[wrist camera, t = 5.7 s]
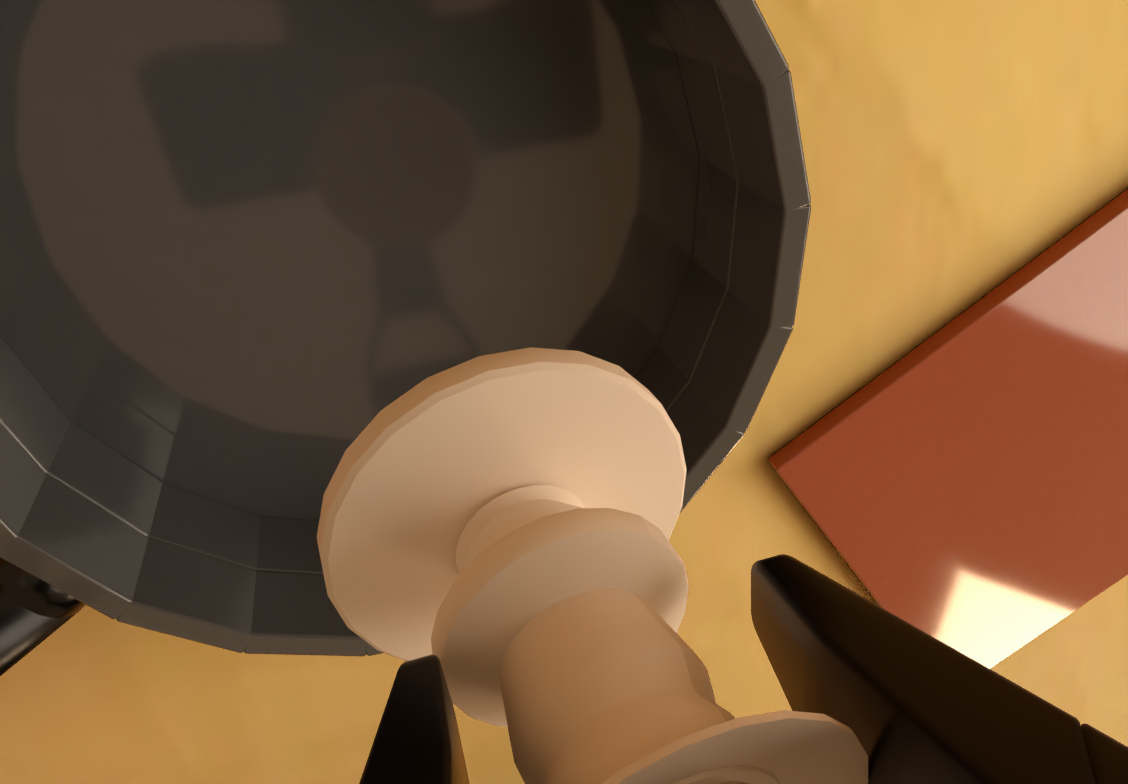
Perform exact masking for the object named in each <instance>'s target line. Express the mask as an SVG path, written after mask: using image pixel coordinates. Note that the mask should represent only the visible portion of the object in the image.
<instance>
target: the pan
mask: <svg viewBox="0 0 1128 784" xmlns="http://www.w3.org/2000/svg"><path fill="white" fill-rule="evenodd" d="M788 68H789V66H788V63H787V62H786V60H785V58H784V56H783V54H782V52H781V50H780V48H779V46H778V44H777V42H776V40H775V38H774V36H773V34H772V32H771V31H770V29H769V27H768V25H767V23H766V21H765V19H764V17H763V15H762V13H761V11H760V9H759V7H758V5H757V3H756V2H755V0H0V558H2V559H4V560H6V561H7V562H9V563H11V564H13V565H15V566H17V567H18V568H20V569H22V570H24V571H26V572H28V573H29V574H31V575H33V576H35V577H37V578H39V579H40V580H42V581H44V582H46V583H48V584H50V585H51V586H53V587H55V588H57V589H59V590H60V591H62V592H64V593H66V594H68V595H70V596H71V597H73V598H75V599H77V600H79V601H81V602H82V603H84V604H86V605H88V606H90V607H92V608H93V609H95V610H97V611H99V612H101V613H103V614H104V615H106V616H108V617H110V618H112V619H117V621H119V622H122V623H126V624H130V625H134V626H138V627H142V628H145V629H149V630H153V631H157V632H161V633H165V634H169V635H173V636H176V637H180V638H184V639H188V640H192V641H196V642H200V643H204V644H207V645H211V646H215V647H219V648H223V649H227V650H231V651H235V652H238V653H242V652H243V651H244V653H246V654H286V655H328V656H365V655H366V654H367V655H368V656H371V655H376V654H381V653H383V652H381V651H378V650H377V649H375V648H374V647H373V646H371V645H370V644H369V643H367V642H366V641H365V640H363V639H362V638H361V637H360V636H358V635H357V634H356V633H354V632H353V631H352V630H350V629H349V628H348V627H347V625H346V624H345V622H344V621H343V619H342V618H341V616H340V614H339V613H338V611H337V610H336V608H335V606H334V605H333V603H332V602H331V600H330V598H329V597H328V594H327V589H326V584H325V580H324V574H323V569H322V564H321V558H320V553H319V548H318V542H317V532H318V526H319V519H320V513H321V507H322V501H323V495H324V493H325V491H326V489H327V487H328V485H329V483H330V481H331V479H332V477H333V475H334V473H335V471H336V469H337V467H338V465H339V463H340V461H341V459H342V457H343V455H344V453H345V451H346V449H347V448H348V447H349V446H350V445H351V444H352V443H353V442H354V440H355V439H356V438H357V437H358V436H359V435H360V434H361V432H362V431H363V430H364V429H365V428H366V427H367V426H368V425H369V423H370V422H371V421H372V420H373V419H374V418H375V417H376V415H377V414H378V413H379V412H380V411H381V410H382V409H384V408H385V407H386V406H388V405H389V404H391V403H392V402H394V401H395V400H396V399H398V398H399V397H401V396H402V395H403V394H405V393H406V392H408V391H409V390H410V389H412V388H413V387H415V386H416V385H417V384H419V383H420V382H422V381H423V380H425V379H426V378H428V377H430V376H433V375H435V374H437V373H440V372H442V371H445V370H447V369H449V368H452V367H454V366H456V365H459V364H461V363H464V362H466V361H468V360H471V359H473V358H476V357H478V356H483V355H489V354H495V353H501V352H506V351H512V350H518V349H524V348H530V347H533V348H546V349H560V350H573V351H580V352H583V353H586V354H588V355H591V356H594V357H596V358H599V359H602V360H604V361H607V362H610V363H612V364H615V365H618V366H620V367H621V368H622V369H623V370H625V371H626V372H627V373H628V374H630V375H631V376H632V377H633V378H635V379H636V380H637V381H638V382H640V383H641V384H642V385H643V386H644V387H646V388H647V389H648V390H649V391H650V392H651V393H652V394H653V395H654V396H655V397H656V399H657V400H658V401H659V402H660V403H661V404H662V406H663V408H664V409H665V411H666V413H667V414H668V416H669V418H670V419H671V421H672V423H673V424H674V426H675V428H676V429H677V431H678V433H679V434H680V438H681V443H682V449H683V454H684V459H685V464H686V470H687V471H686V479H685V487H684V496H683V504H682V508H681V511H680V513H681V512H682V510H683V509H684V508H685V507H686V505H687V504H688V503H689V502H690V501H691V499H692V498H693V497H694V496H695V494H696V493H697V492H698V491H699V490H700V488H701V487H702V486H703V485H704V483H705V482H706V481H707V480H708V479H709V477H710V476H711V475H712V474H713V472H714V471H715V470H716V469H717V468H718V466H719V465H720V464H721V463H722V461H723V460H724V459H725V458H726V457H727V455H728V454H729V453H730V452H731V450H732V449H733V448H734V447H735V446H736V444H737V443H738V442H739V441H740V439H741V438H742V437H743V436H744V433H745V432H746V431H747V429H748V427H749V425H750V422H751V420H752V418H753V416H754V414H755V411H756V409H757V407H758V405H759V403H760V400H761V398H762V396H763V394H764V392H765V389H766V387H767V385H768V383H769V381H770V378H771V376H772V374H773V372H774V370H775V367H776V365H777V363H778V361H779V359H780V356H781V354H782V352H783V350H784V347H785V345H786V343H787V341H788V339H789V336H790V334H791V332H792V330H793V328H792V326H793V325H794V320H795V313H796V306H797V300H798V293H799V286H800V279H801V272H802V265H803V259H804V252H805V245H806V238H807V231H808V225H809V218H810V211H811V205H810V203H811V199H810V192H809V186H808V179H807V173H806V167H805V160H804V154H803V148H802V141H801V135H800V129H799V122H798V116H797V110H796V103H795V97H794V91H793V84H792V78H791V72H790V71H789V69H788ZM680 513H679V514H680Z"/></svg>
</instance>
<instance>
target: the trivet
mask: <svg viewBox="0 0 1128 784" xmlns="http://www.w3.org/2000/svg"><path fill="white" fill-rule="evenodd" d="M768 461H769V463H770V464H771V465H772V467H773V468H774V469H775V470H776V472H777V473H778V474H779V476H780V477H781V478H782V480H783V481H784V482H785V483H786V485H787V486H788V487H789V489H790V490H791V491H792V493H793V494H794V495H795V496H796V498H797V499H798V500H799V502H800V503H801V504H802V506H803V507H804V508H805V509H806V511H807V512H808V513H809V515H810V516H811V517H812V519H813V520H814V521H815V523H816V524H817V525H818V526H819V528H820V529H821V530H822V532H823V533H824V534H825V536H826V537H827V538H828V539H829V541H830V542H831V543H832V545H833V546H834V547H835V549H836V550H837V551H838V552H839V554H840V555H841V556H842V558H843V559H844V560H845V562H846V563H847V564H848V565H849V567H850V568H851V569H852V571H853V572H854V573H855V575H856V576H857V577H858V578H859V580H860V581H861V582H862V584H863V585H864V586H865V588H866V589H867V590H868V591H869V593H870V594H871V595H872V597H873V598H874V599H875V601H876V602H877V603H878V604H879V606H880V607H881V608H883V609H885V610H887V611H888V612H890V613H892V614H894V615H895V616H897V617H899V618H901V619H902V620H904V621H906V622H908V623H909V624H911V625H913V626H915V627H916V628H918V629H920V630H922V631H924V632H925V633H927V634H929V635H931V636H932V637H934V638H936V639H938V640H939V641H941V642H943V643H945V644H946V645H948V646H950V647H952V648H953V649H955V650H957V651H959V652H961V653H962V654H964V655H966V656H968V657H969V658H971V659H973V660H975V661H976V662H978V663H980V664H982V665H983V666H985V667H987V668H989V669H991V668H992V667H993V666H995V665H996V664H998V663H999V662H1001V661H1002V660H1004V659H1005V658H1007V657H1008V656H1010V655H1011V654H1012V653H1014V652H1015V651H1017V650H1018V649H1020V648H1021V647H1023V646H1024V645H1026V644H1027V643H1029V642H1030V641H1031V640H1033V639H1034V638H1036V637H1037V636H1039V635H1040V634H1042V633H1043V632H1045V631H1046V630H1047V629H1049V628H1050V627H1052V626H1053V625H1055V624H1056V623H1058V622H1059V621H1061V620H1062V619H1064V618H1065V617H1066V616H1068V615H1069V614H1071V613H1072V612H1074V611H1075V610H1077V609H1078V608H1080V607H1081V606H1082V605H1084V604H1085V603H1087V602H1088V601H1090V600H1091V599H1093V598H1094V597H1096V596H1097V595H1099V594H1100V593H1101V592H1103V591H1104V590H1106V589H1107V588H1109V587H1110V586H1112V585H1113V584H1115V583H1116V582H1118V581H1119V580H1120V579H1122V578H1123V577H1125V576H1126V575H1128V189H1127V190H1126V191H1124V192H1123V193H1122V194H1120V195H1119V196H1118V197H1116V198H1115V199H1114V200H1112V201H1111V202H1110V203H1108V204H1107V205H1106V206H1104V207H1103V208H1102V209H1100V210H1099V211H1098V212H1096V213H1095V214H1094V215H1092V216H1091V217H1090V218H1088V219H1087V220H1086V221H1084V222H1083V223H1082V224H1080V225H1079V226H1078V227H1076V228H1075V229H1074V230H1072V231H1071V232H1070V233H1068V234H1067V235H1066V236H1064V237H1063V238H1062V239H1060V240H1059V241H1058V242H1056V243H1055V244H1054V245H1052V246H1051V247H1050V248H1048V249H1047V250H1046V251H1044V252H1043V253H1042V254H1040V255H1039V256H1038V257H1036V258H1035V259H1034V260H1032V261H1031V262H1030V263H1028V264H1027V265H1026V266H1024V267H1023V268H1022V269H1020V270H1019V271H1018V272H1016V273H1015V274H1014V275H1012V276H1011V277H1010V278H1008V279H1007V280H1006V281H1004V282H1003V283H1002V284H1000V285H999V286H998V287H996V288H995V289H994V290H992V291H991V292H990V293H988V294H987V295H986V296H984V297H983V298H982V299H980V300H979V301H978V302H976V303H975V304H974V305H972V306H971V307H970V308H968V309H967V310H966V311H964V312H963V313H962V314H961V315H959V316H958V317H957V318H955V319H954V320H953V321H951V322H950V323H949V324H947V325H946V326H945V327H943V328H942V329H941V330H939V331H938V332H937V333H935V334H934V335H933V336H931V337H930V338H929V339H927V340H926V341H925V342H923V343H922V344H921V345H919V346H918V347H917V348H915V349H914V350H913V351H911V352H910V353H909V354H907V355H906V356H905V357H903V358H902V359H901V360H899V361H898V362H897V363H895V364H894V365H893V366H891V367H890V368H889V369H887V370H886V371H885V372H883V373H882V374H881V375H879V376H878V377H877V378H875V379H874V380H873V381H871V382H870V383H869V384H867V385H866V386H865V387H863V388H862V389H861V390H859V391H858V392H857V393H855V394H854V395H853V396H851V397H850V398H849V399H847V400H846V401H845V402H843V403H842V404H841V405H839V406H838V407H837V408H835V409H834V410H833V411H831V412H830V413H829V414H827V415H826V416H825V417H823V418H822V419H821V420H819V421H818V422H817V423H815V424H814V425H813V426H811V427H810V428H809V429H807V430H806V431H805V432H803V433H802V434H801V435H799V436H798V437H797V438H795V439H794V440H793V441H791V442H790V443H789V444H787V445H786V446H785V447H783V448H782V449H781V450H779V451H778V452H777V453H775V454H774V455H773V456H771V457H770V458H769V459H768Z"/></svg>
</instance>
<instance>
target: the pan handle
mask: <svg viewBox="0 0 1128 784" xmlns="http://www.w3.org/2000/svg"><path fill="white" fill-rule="evenodd" d="M84 606H85V604H84V603H82V602H81V601H79V600H77V599H75V598H73V597H71V596H70V595H68V594H66V593H64V592H62V591H60V590H59V589H57V588H55V587H53V586H51V585H50V584H48V583H46V582H44V581H42V580H40V579H39V578H37V577H35V576H33V575H31V574H29V573H28V572H26V571H24V570H22V569H20V568H18V567H17V566H15V565H13V564H11V563H9V562H7V561H6V560H4V559H2V558H0V676H1V675H2V674H4V673H5V672H6V671H7V670H8V669H10V668H11V667H12V666H13V665H14V664H16V663H17V662H18V661H19V660H20V659H22V658H23V657H24V656H25V655H27V654H28V653H29V652H30V651H31V650H33V649H34V648H35V647H36V646H37V645H39V644H40V643H41V642H42V641H43V640H45V639H46V638H47V637H48V636H50V635H51V634H52V633H53V632H54V631H56V630H57V629H58V628H59V627H60V626H62V625H63V624H64V623H65V622H66V621H68V620H69V619H70V618H71V617H73V616H74V615H75V614H76V613H77V612H79V611H80V610H81V609H82V608H83V607H84Z"/></svg>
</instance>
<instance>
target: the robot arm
mask: <svg viewBox="0 0 1128 784" xmlns="http://www.w3.org/2000/svg"><path fill="white" fill-rule="evenodd" d="M751 615H752V620H753V624H754V627H755V630H756V632H757V635H758V637H759V639H760V641H761V643H762V646H763V648H764V650H765V652H766V654H767V656H768V659H769V661H770V663H771V665H772V667H773V669H774V672H775V674H776V676H777V678H778V680H779V682H780V685H781V687H782V689H783V691H784V693H785V695H786V698H787V700H788V702H789V704H790V706H791V708H792V711H798V712H809V713H819V714H825V715H827V716H829V717H831V718H833V719H835V720H837V721H839V722H840V723H842V724H844V725H846V726H848V727H850V728H851V730H852V731H853V732H854V734H855V735H856V737H857V738H858V740H859V742H860V743H861V745H862V747H863V748H864V750H865V752H866V753H867V755H868V784H1128V747H1127V746H1125V745H1123V744H1121V743H1120V742H1118V741H1116V740H1114V739H1113V738H1111V737H1109V736H1107V735H1106V734H1104V733H1102V732H1100V731H1099V730H1097V729H1095V728H1093V727H1091V726H1090V725H1088V724H1082V725H1081V726H1080V722H1079V721H1078V719H1077V718H1075V717H1073V716H1072V715H1070V714H1068V713H1066V712H1065V711H1063V710H1061V709H1059V708H1057V707H1056V706H1054V705H1052V704H1050V703H1049V702H1047V701H1045V700H1043V699H1042V698H1040V697H1038V696H1036V695H1035V694H1033V693H1031V692H1029V691H1027V690H1026V689H1024V688H1022V687H1020V686H1019V685H1017V684H1015V683H1013V682H1012V681H1010V680H1008V679H1006V678H1005V677H1003V676H1001V675H999V674H998V673H996V672H994V671H992V670H990V669H989V668H987V667H985V666H983V665H982V664H980V663H978V662H976V661H975V660H973V659H971V658H969V657H968V656H966V655H964V654H962V653H961V652H959V651H957V650H955V649H953V648H952V647H950V646H948V645H946V644H945V643H943V642H941V641H939V640H938V639H936V638H934V637H932V636H931V635H929V634H927V633H925V632H924V631H922V630H920V629H918V628H916V627H915V626H913V625H911V624H909V623H908V622H906V621H904V620H902V619H901V618H899V617H897V616H895V615H894V614H892V613H890V612H888V611H887V610H885V609H883V608H881V607H879V606H878V605H876V604H874V603H872V602H871V601H869V600H867V599H865V598H864V597H862V596H860V595H858V594H857V593H855V592H853V591H851V590H850V589H848V588H846V587H844V586H842V585H841V584H839V583H837V582H835V581H834V580H832V579H830V578H828V577H827V576H825V575H823V574H821V573H820V572H818V571H816V570H814V569H813V568H811V567H809V566H807V565H805V564H804V563H802V562H800V561H798V560H797V559H795V558H793V557H791V556H788V555H784V554H782V555H777V556H774V557H770V558H767V559H763V560H760V561H757V562H755V563H754V564H753V566H752V569H751ZM359 784H469V779H468V774H467V769H466V765H465V760H464V755H463V750H462V745H461V740H460V735H459V730H458V726H457V721H456V716H455V712H454V708H453V704H452V700H451V697H450V693H449V690H448V686H447V683H446V679H445V676H444V672H443V669H442V666H441V662H440V660H439V658H438V657H437V656H436V655H428V656H424V657H421V658H417V659H414V660H410V661H407V662H405V663H403V664H402V665H401V666H400V668H399V670H398V672H397V675H396V678H395V681H394V684H393V687H392V690H391V692H390V695H389V698H388V701H387V704H386V707H385V710H384V713H383V716H382V719H381V722H380V725H379V728H378V730H377V733H376V736H375V739H374V742H373V745H372V748H371V751H370V754H369V757H368V760H367V763H366V766H365V769H364V771H363V774H362V777H361V780H360V783H359Z"/></svg>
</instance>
